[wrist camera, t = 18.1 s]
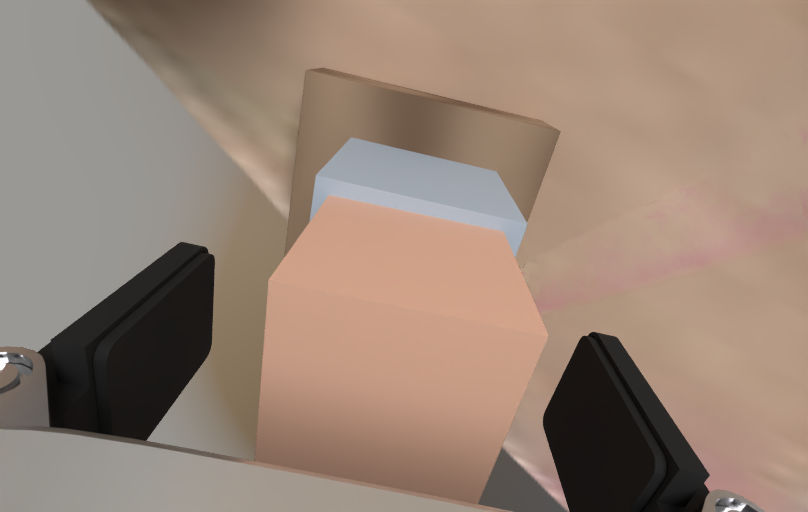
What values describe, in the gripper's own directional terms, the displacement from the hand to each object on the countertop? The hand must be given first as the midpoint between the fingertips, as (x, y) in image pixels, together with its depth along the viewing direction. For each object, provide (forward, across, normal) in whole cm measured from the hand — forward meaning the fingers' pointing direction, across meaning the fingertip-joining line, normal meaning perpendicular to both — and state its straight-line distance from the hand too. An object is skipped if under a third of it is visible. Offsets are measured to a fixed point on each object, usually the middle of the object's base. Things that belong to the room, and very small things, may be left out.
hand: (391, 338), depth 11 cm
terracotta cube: (+2, 0, 0) cm, 3 cm away
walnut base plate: (+12, 0, 0) cm, 12 cm away
